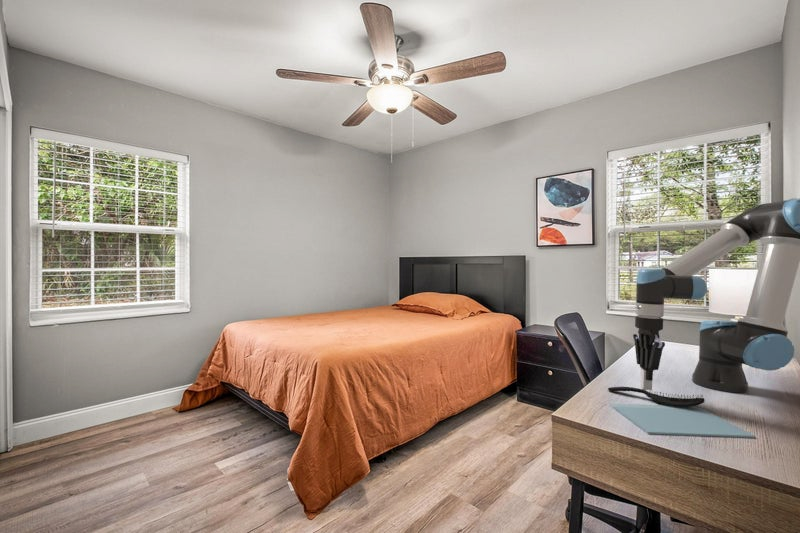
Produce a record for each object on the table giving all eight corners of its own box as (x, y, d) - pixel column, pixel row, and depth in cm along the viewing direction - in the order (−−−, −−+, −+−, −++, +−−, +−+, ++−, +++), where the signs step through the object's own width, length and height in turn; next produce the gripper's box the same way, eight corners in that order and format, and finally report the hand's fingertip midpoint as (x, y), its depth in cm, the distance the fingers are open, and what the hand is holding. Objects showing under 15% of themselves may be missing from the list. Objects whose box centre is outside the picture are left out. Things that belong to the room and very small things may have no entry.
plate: (694, 407, 112) (694, 404, 112) (755, 439, 92) (755, 435, 92) (606, 404, 113) (606, 401, 113) (647, 435, 93) (647, 431, 93)
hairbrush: (610, 379, 128) (704, 392, 112) (610, 390, 127) (705, 405, 112) (605, 384, 121) (704, 398, 105) (605, 395, 121) (705, 412, 105)
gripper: (625, 313, 127) (623, 382, 127) (649, 319, 114) (646, 396, 114) (648, 314, 127) (645, 382, 127) (675, 320, 114) (671, 397, 114)
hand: (646, 389), depth 121 cm, fingers closed
